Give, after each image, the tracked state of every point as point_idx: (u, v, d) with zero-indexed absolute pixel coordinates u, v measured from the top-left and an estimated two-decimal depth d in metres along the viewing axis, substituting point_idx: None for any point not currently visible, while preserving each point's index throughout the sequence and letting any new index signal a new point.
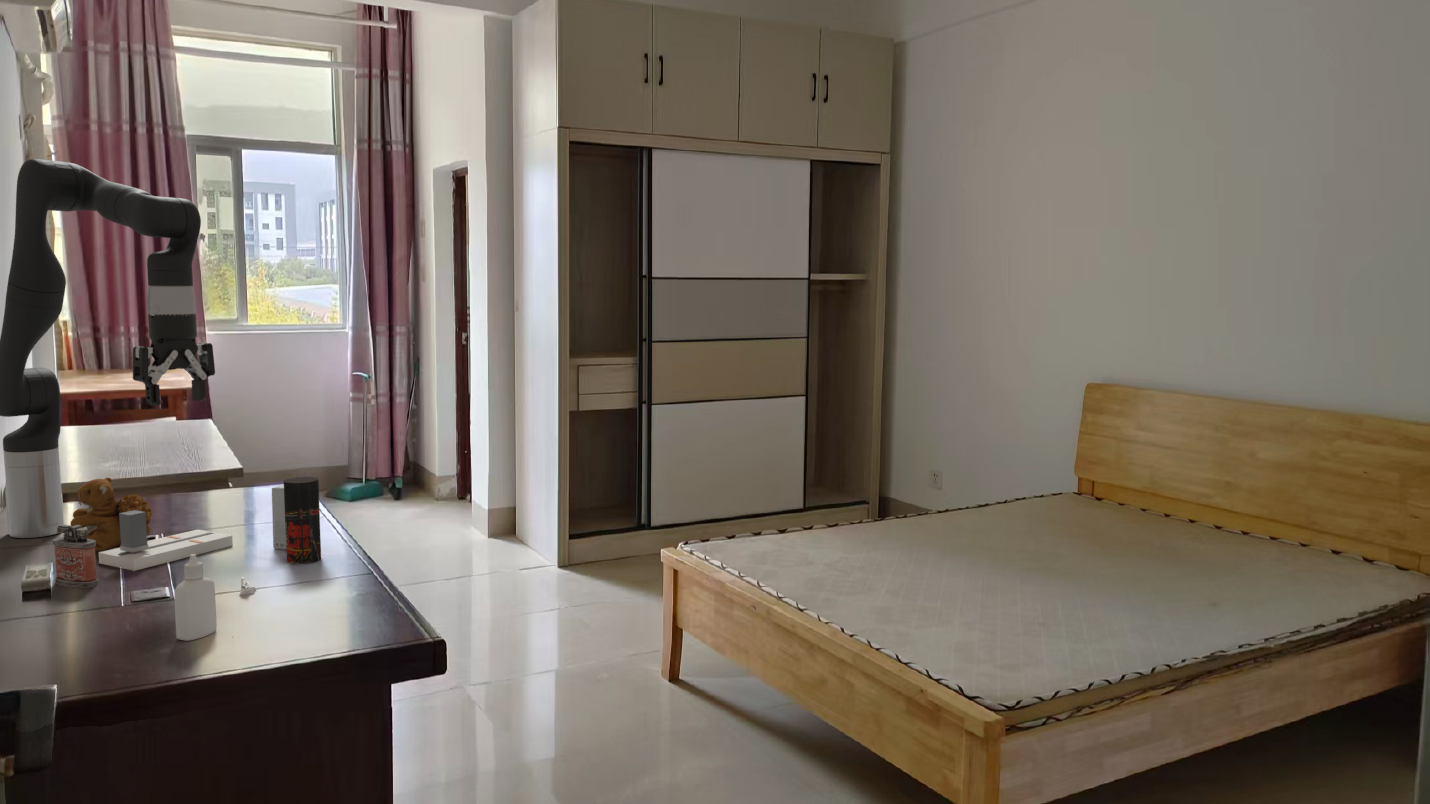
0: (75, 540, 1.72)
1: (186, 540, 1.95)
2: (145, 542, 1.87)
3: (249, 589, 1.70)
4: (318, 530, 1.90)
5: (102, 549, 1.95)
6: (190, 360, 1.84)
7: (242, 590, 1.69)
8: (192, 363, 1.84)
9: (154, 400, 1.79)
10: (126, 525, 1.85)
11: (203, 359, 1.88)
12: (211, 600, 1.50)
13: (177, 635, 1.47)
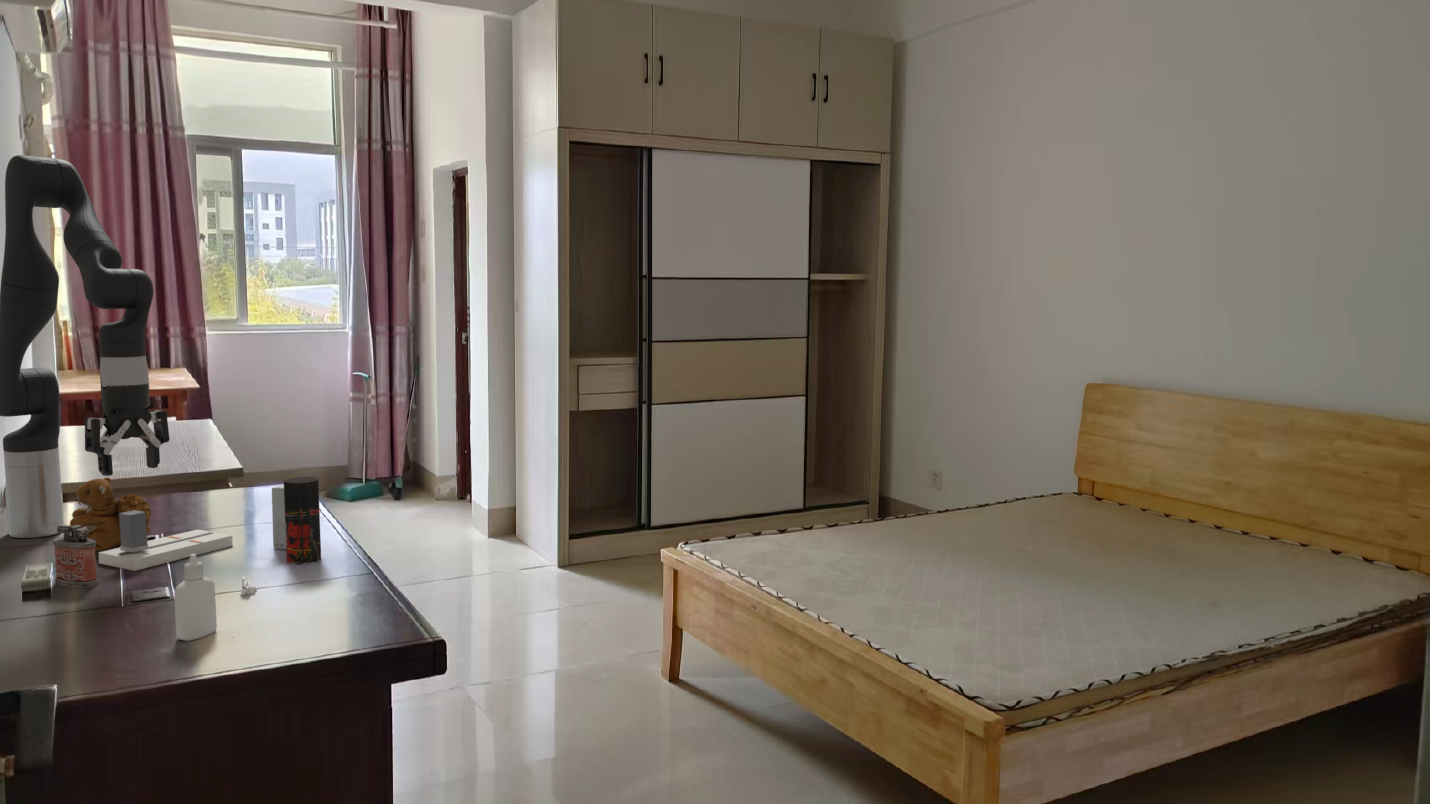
0: (75, 540, 1.72)
1: (186, 540, 1.95)
2: (145, 542, 1.87)
3: (250, 589, 1.70)
4: (318, 530, 1.90)
5: (101, 549, 1.95)
6: (143, 429, 1.86)
7: (243, 590, 1.69)
8: (145, 432, 1.86)
9: (106, 470, 1.81)
10: (126, 525, 1.85)
11: (157, 426, 1.90)
12: (211, 600, 1.50)
13: (177, 635, 1.47)
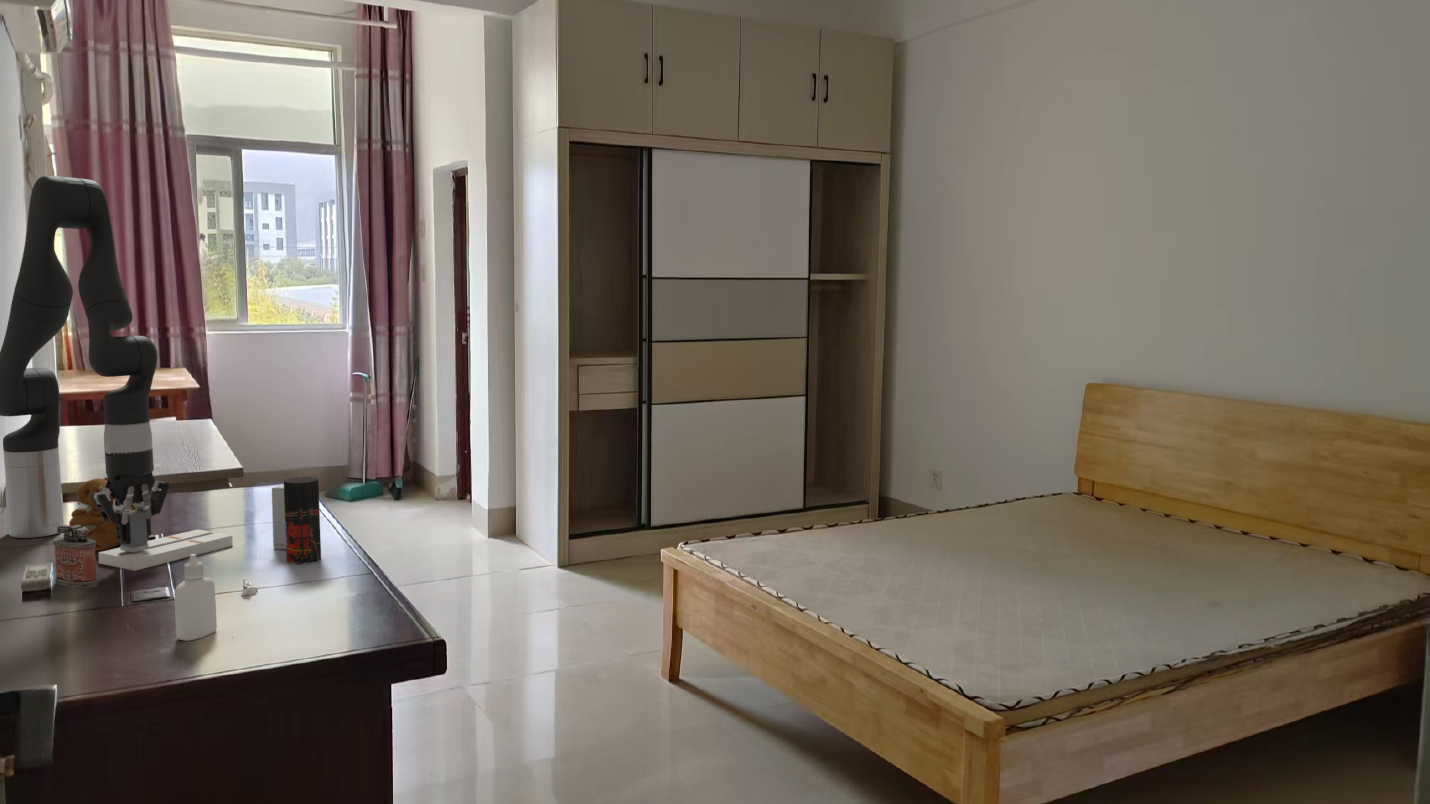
0: (75, 540, 1.72)
1: (186, 540, 1.95)
2: (145, 542, 1.87)
3: (251, 589, 1.70)
4: (318, 530, 1.90)
5: (101, 549, 1.95)
6: (143, 495, 1.86)
7: (244, 590, 1.69)
8: (144, 499, 1.86)
9: (124, 539, 1.85)
10: None
11: (155, 496, 1.90)
12: (211, 600, 1.50)
13: (177, 635, 1.47)
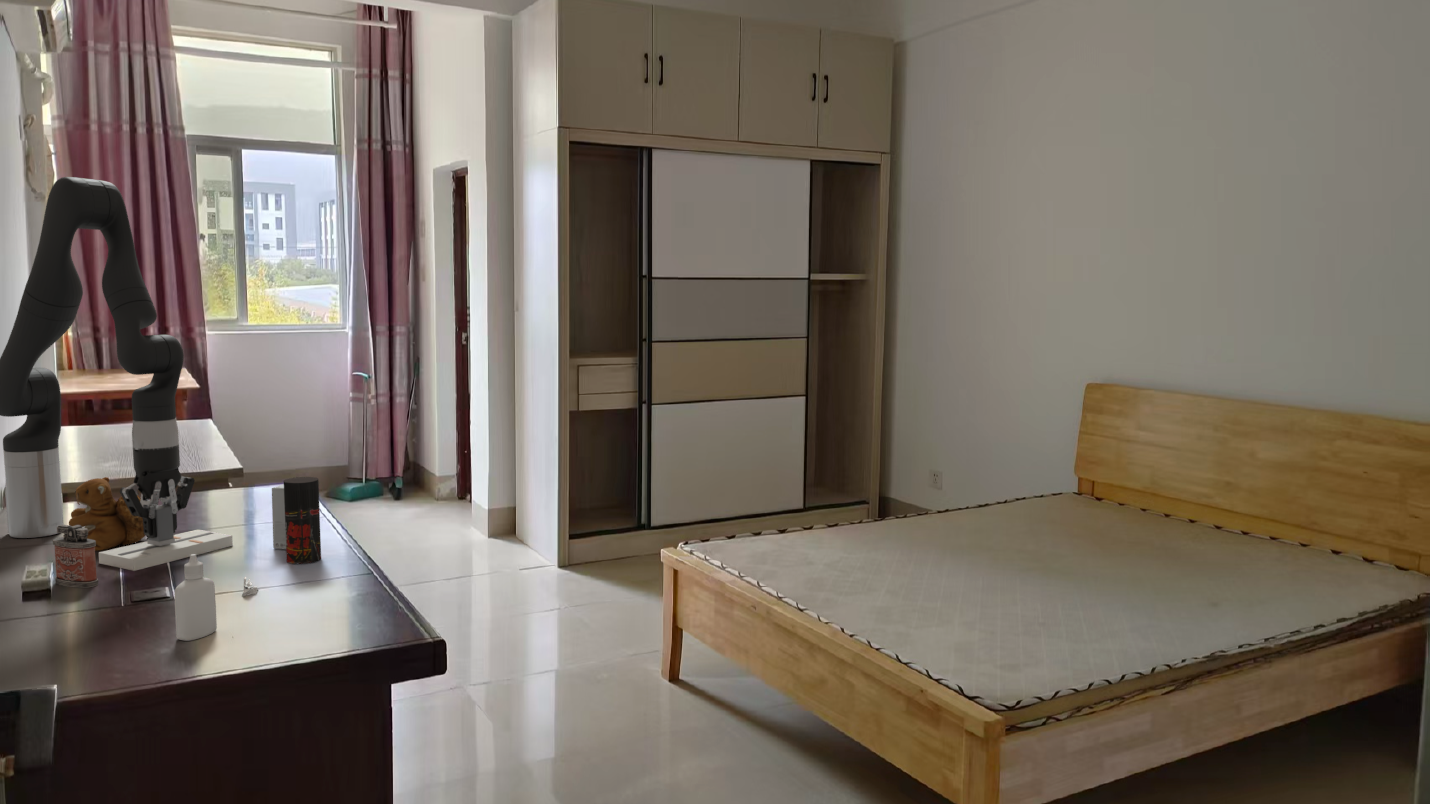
0: (75, 540, 1.72)
1: (186, 540, 1.95)
2: (171, 536, 1.92)
3: (252, 590, 1.70)
4: (318, 530, 1.90)
5: (100, 549, 1.95)
6: (170, 490, 1.91)
7: (245, 590, 1.69)
8: (170, 494, 1.91)
9: (151, 533, 1.89)
10: None
11: (180, 492, 1.95)
12: (211, 600, 1.50)
13: (177, 635, 1.47)
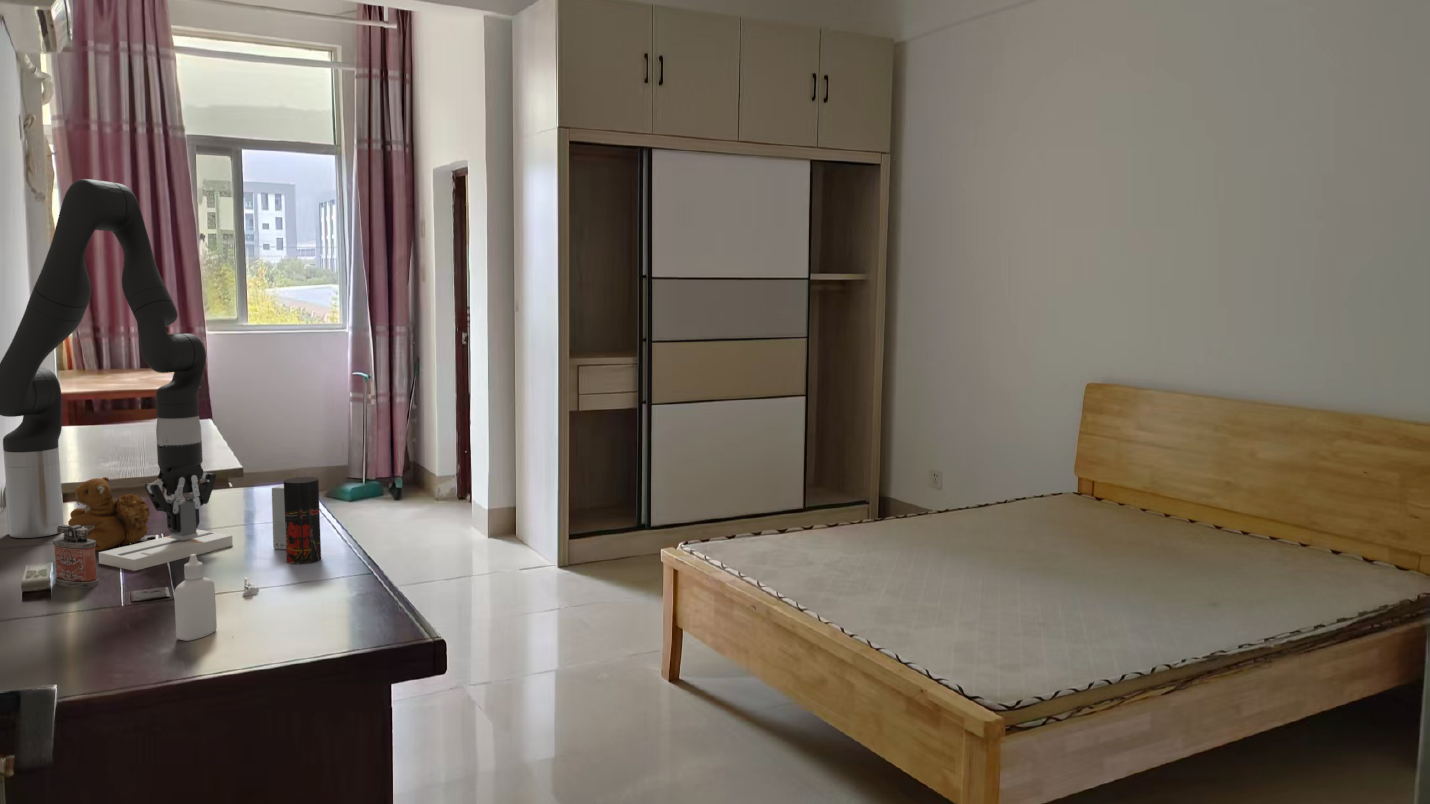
0: (75, 540, 1.72)
1: (186, 540, 1.95)
2: (194, 531, 1.96)
3: (252, 590, 1.69)
4: (318, 530, 1.90)
5: (100, 548, 1.95)
6: (193, 486, 1.95)
7: (245, 591, 1.68)
8: (193, 489, 1.95)
9: (175, 528, 1.93)
10: None
11: (203, 487, 1.99)
12: (211, 600, 1.50)
13: (177, 635, 1.47)
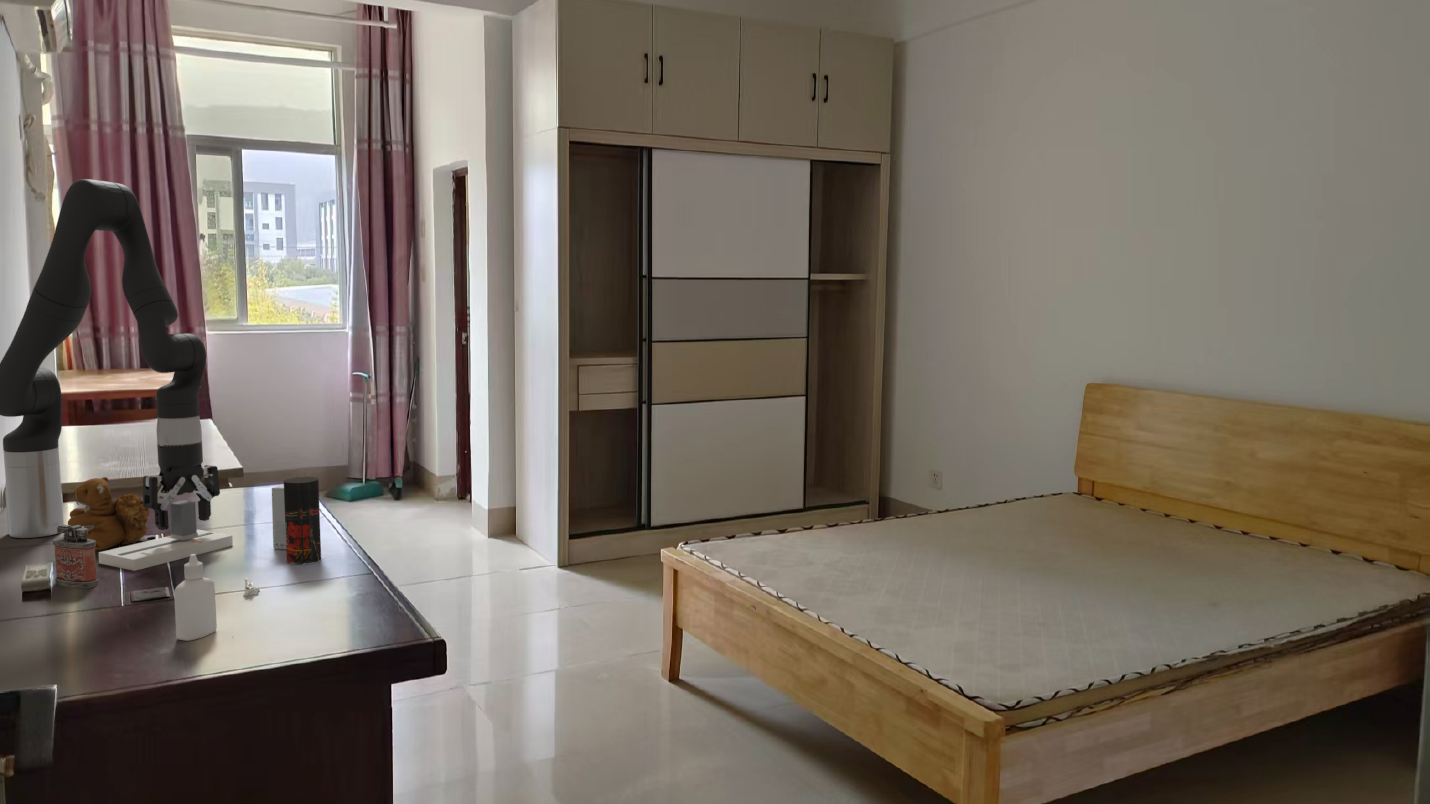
0: (75, 540, 1.72)
1: (186, 540, 1.95)
2: (194, 531, 1.96)
3: (253, 590, 1.69)
4: (318, 530, 1.90)
5: (99, 548, 1.95)
6: (196, 484, 1.96)
7: (246, 591, 1.68)
8: (198, 487, 1.96)
9: (163, 525, 1.91)
10: (177, 514, 1.94)
11: (209, 481, 2.00)
12: (211, 600, 1.50)
13: (177, 635, 1.47)
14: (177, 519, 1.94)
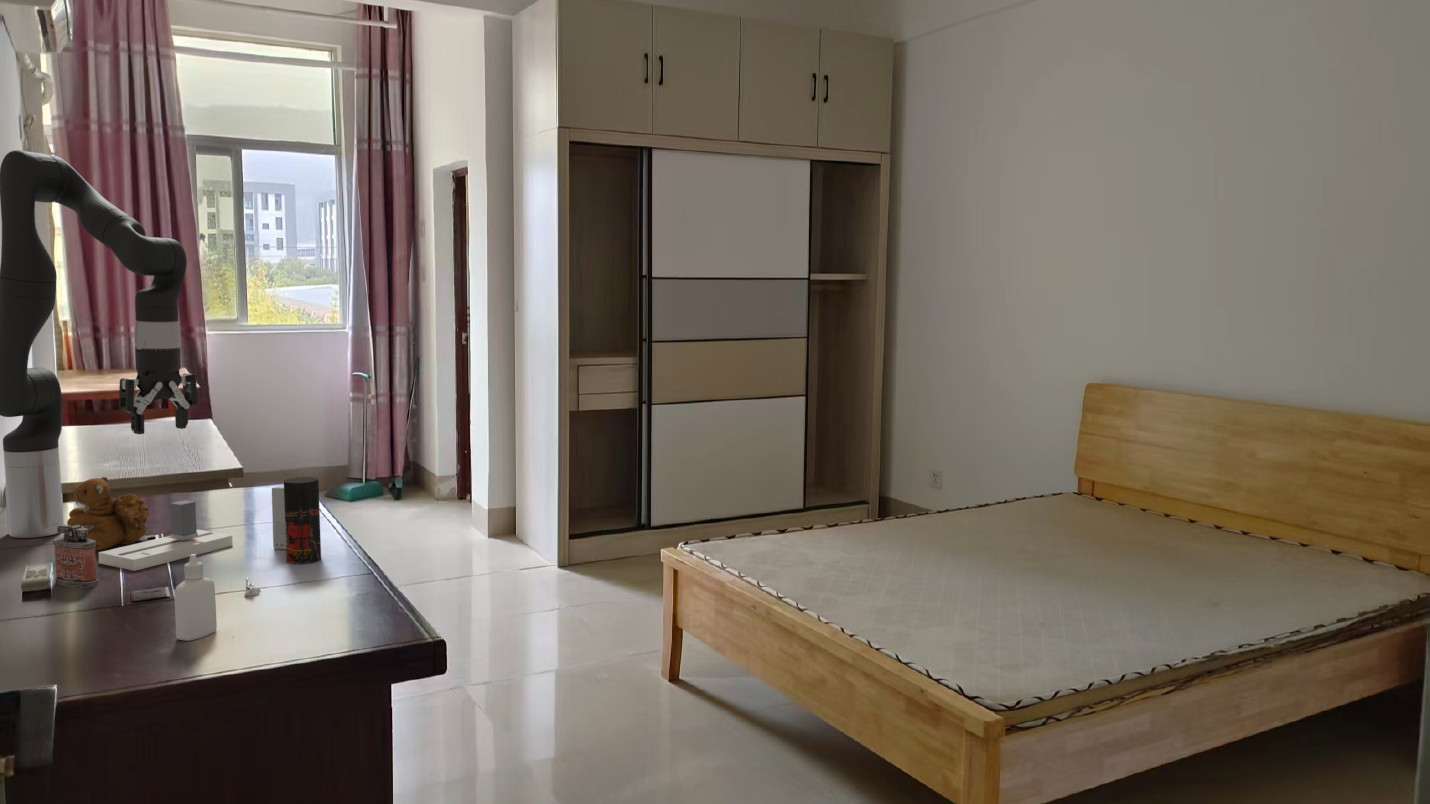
0: (75, 540, 1.72)
1: (186, 540, 1.95)
2: (194, 531, 1.96)
3: (254, 590, 1.69)
4: (318, 530, 1.90)
5: (99, 548, 1.96)
6: (174, 391, 1.95)
7: (247, 591, 1.68)
8: (176, 394, 1.95)
9: (139, 429, 1.90)
10: (177, 514, 1.94)
11: (187, 389, 1.99)
12: (211, 600, 1.50)
13: (177, 635, 1.47)
14: (177, 519, 1.94)
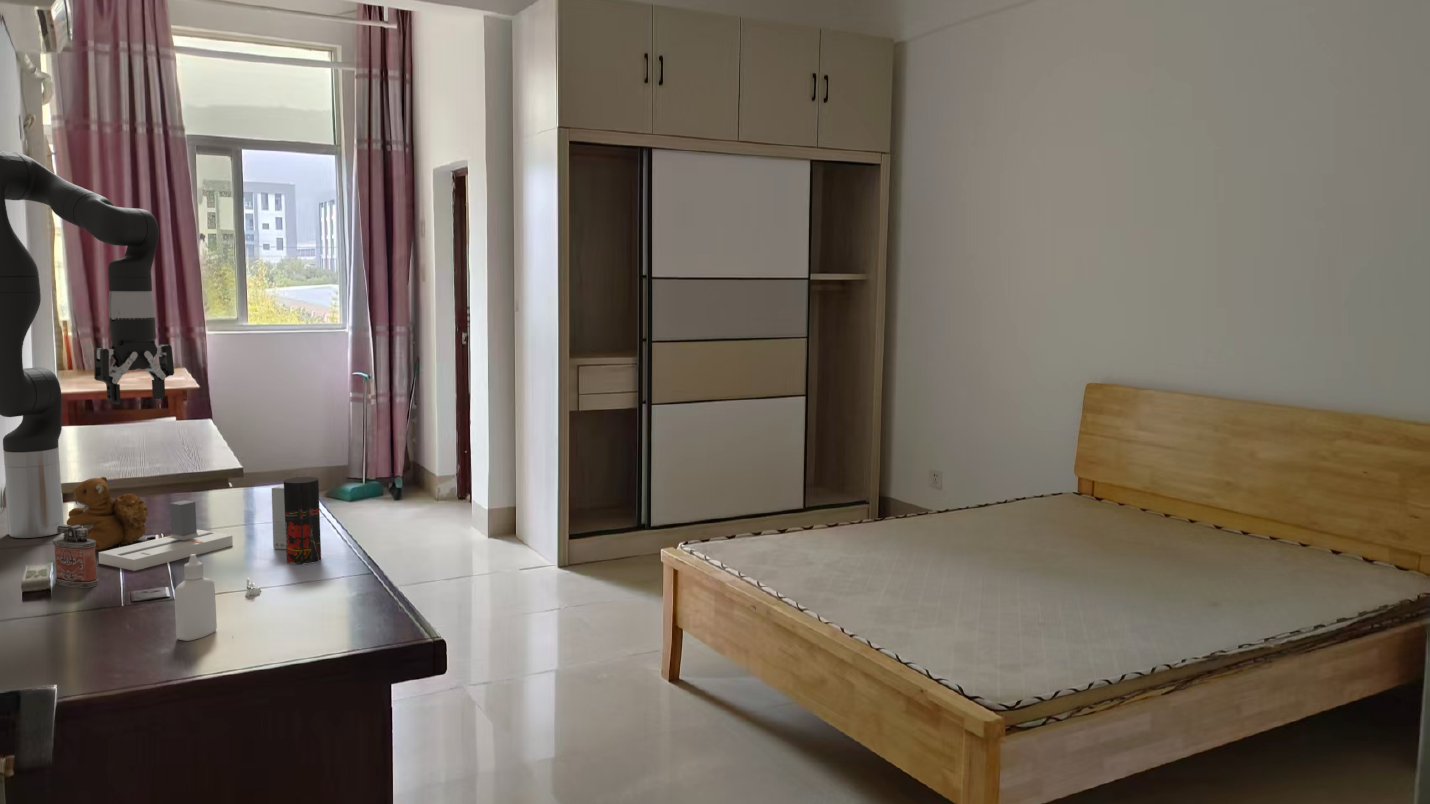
0: (75, 540, 1.72)
1: (186, 540, 1.95)
2: (194, 531, 1.96)
3: (255, 590, 1.69)
4: (318, 530, 1.90)
5: (98, 548, 1.96)
6: (150, 361, 1.95)
7: (248, 591, 1.68)
8: (151, 364, 1.96)
9: (115, 399, 1.91)
10: (177, 514, 1.94)
11: (163, 360, 2.00)
12: (211, 600, 1.50)
13: (177, 635, 1.47)
14: (177, 519, 1.94)
